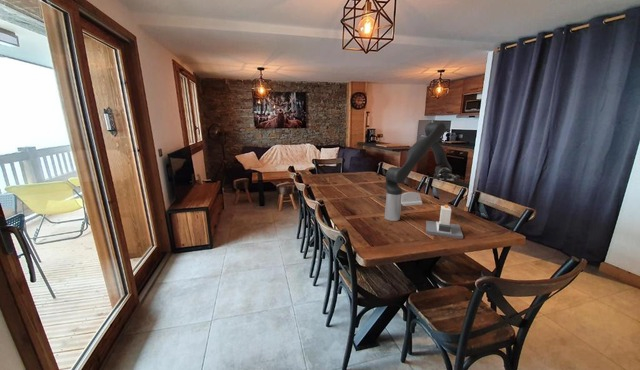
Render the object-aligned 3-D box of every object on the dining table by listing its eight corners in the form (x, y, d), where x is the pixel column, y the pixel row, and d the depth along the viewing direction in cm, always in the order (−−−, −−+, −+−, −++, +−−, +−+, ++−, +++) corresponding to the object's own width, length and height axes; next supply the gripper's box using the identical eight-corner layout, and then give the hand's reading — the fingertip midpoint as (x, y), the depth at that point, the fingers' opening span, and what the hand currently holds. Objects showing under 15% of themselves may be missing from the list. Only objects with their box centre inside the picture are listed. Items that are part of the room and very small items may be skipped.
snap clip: (438, 230, 137) (439, 225, 136) (438, 228, 139) (439, 223, 138) (450, 232, 135) (450, 227, 134) (449, 230, 137) (450, 225, 136)
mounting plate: (426, 233, 139) (426, 229, 138) (426, 222, 153) (426, 219, 153) (462, 238, 132) (463, 235, 132) (459, 227, 147) (459, 223, 146)
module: (439, 229, 139) (442, 206, 135) (438, 225, 144) (441, 202, 141) (448, 230, 137) (451, 207, 134) (447, 226, 143) (450, 203, 139)
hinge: (402, 205, 184) (401, 192, 185) (399, 206, 188) (398, 192, 189) (423, 204, 187) (421, 191, 188) (419, 204, 191) (418, 191, 192)
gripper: (433, 167, 163) (434, 172, 148) (458, 169, 158) (461, 174, 143) (432, 178, 165) (433, 184, 150) (456, 180, 159) (459, 186, 145)
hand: (447, 179), depth 147 cm, fingers open, 8 cm apart
